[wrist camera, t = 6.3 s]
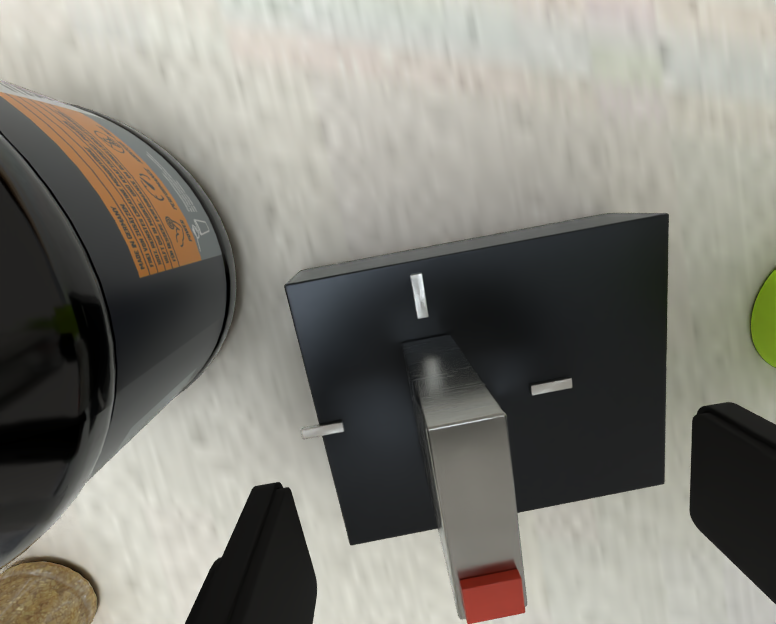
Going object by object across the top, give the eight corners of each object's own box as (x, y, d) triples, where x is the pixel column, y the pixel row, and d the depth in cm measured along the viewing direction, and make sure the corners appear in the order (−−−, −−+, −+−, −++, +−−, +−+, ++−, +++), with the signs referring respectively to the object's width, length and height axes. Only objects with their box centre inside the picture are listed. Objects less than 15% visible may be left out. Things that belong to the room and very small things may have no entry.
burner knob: (401, 342, 12) (427, 436, 7) (450, 333, 12) (512, 419, 7) (424, 474, 13) (461, 632, 8) (469, 465, 13) (533, 618, 8)
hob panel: (608, 212, 14) (674, 212, 11) (614, 438, 17) (668, 487, 14) (284, 273, 14) (262, 289, 11) (339, 492, 17) (333, 553, 14)
